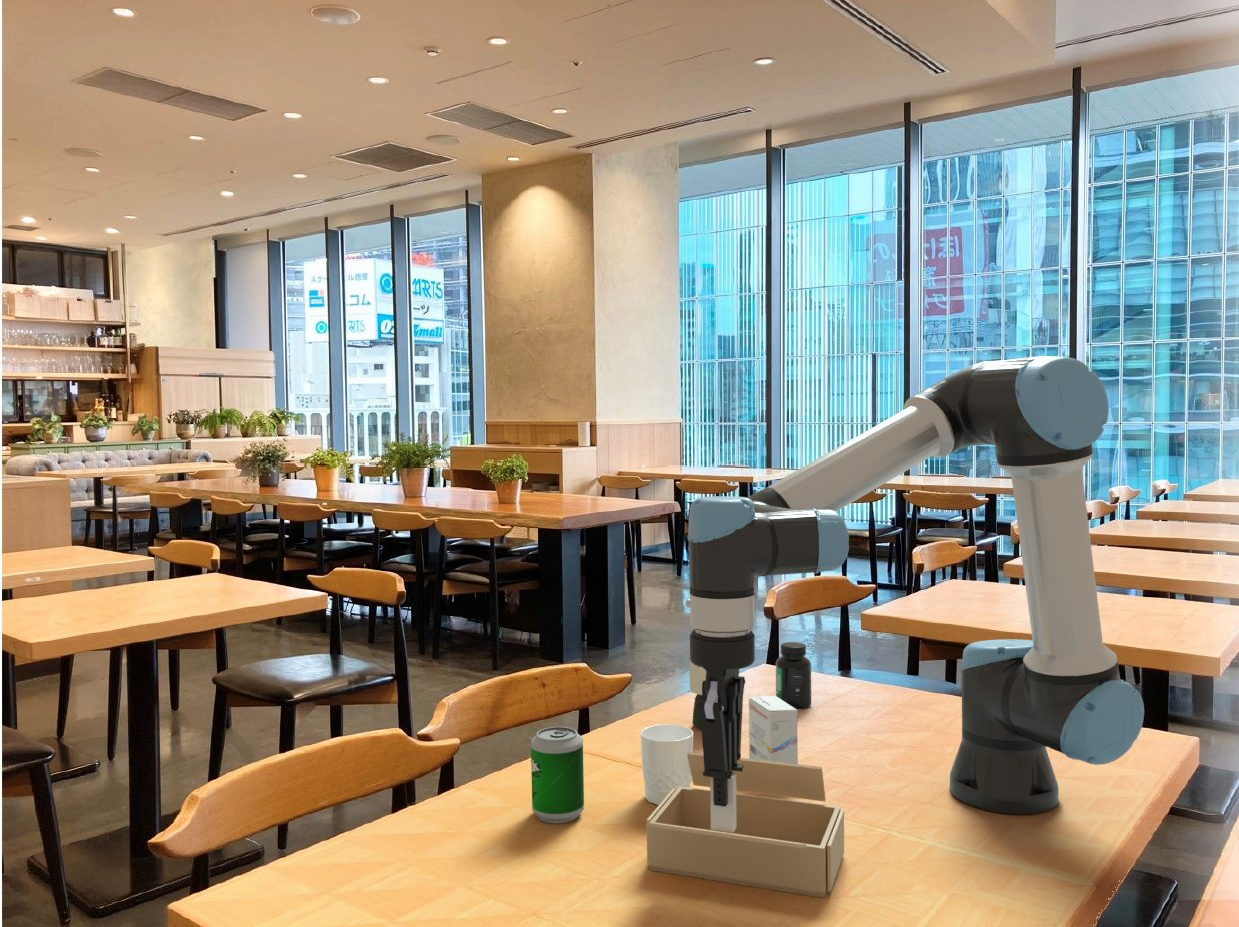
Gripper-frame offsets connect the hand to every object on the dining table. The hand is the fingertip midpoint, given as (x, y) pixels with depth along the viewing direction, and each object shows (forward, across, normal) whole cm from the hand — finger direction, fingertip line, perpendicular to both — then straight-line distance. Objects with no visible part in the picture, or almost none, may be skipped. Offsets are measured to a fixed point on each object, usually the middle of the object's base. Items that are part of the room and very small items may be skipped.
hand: (723, 828), depth 116 cm
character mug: (+9, -62, -18) cm, 65 cm away
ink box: (+9, -42, -3) cm, 43 cm away
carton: (+9, -11, 0) cm, 14 cm away
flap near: (+3, -4, 0) cm, 5 cm away
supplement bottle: (+9, -80, -6) cm, 80 cm away
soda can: (+9, -17, -29) cm, 35 cm away
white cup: (+9, -28, -16) cm, 33 cm away
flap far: (+3, -18, 0) cm, 18 cm away
